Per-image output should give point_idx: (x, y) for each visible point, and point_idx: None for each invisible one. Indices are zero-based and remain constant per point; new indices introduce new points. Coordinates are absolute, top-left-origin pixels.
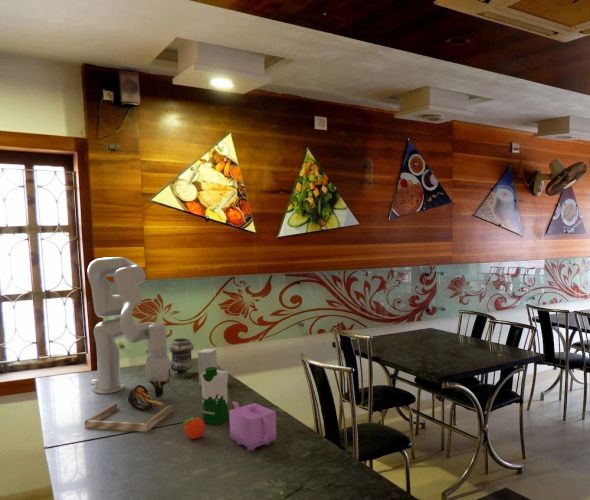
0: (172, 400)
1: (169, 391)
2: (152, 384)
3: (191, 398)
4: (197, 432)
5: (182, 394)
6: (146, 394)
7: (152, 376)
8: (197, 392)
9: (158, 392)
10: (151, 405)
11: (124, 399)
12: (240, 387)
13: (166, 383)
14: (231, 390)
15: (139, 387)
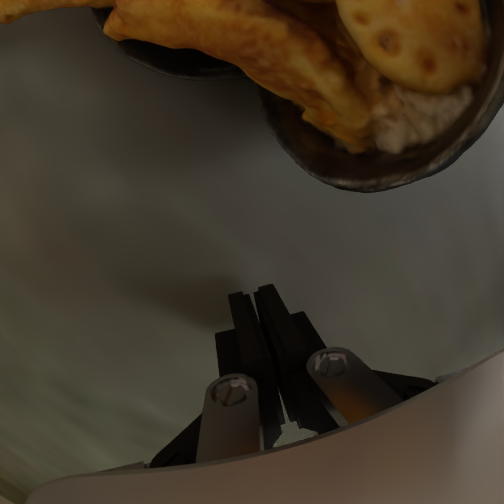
0: (92, 317)
1: (285, 444)
2: (391, 376)
3: (17, 387)
4: None
5: (141, 437)
6: (241, 3)
7: (475, 494)
8: (90, 469)
9: (240, 320)
10: (104, 8)
11: (499, 191)
12: (14, 500)
13: (131, 464)
14: (2, 481)
15: (471, 18)
